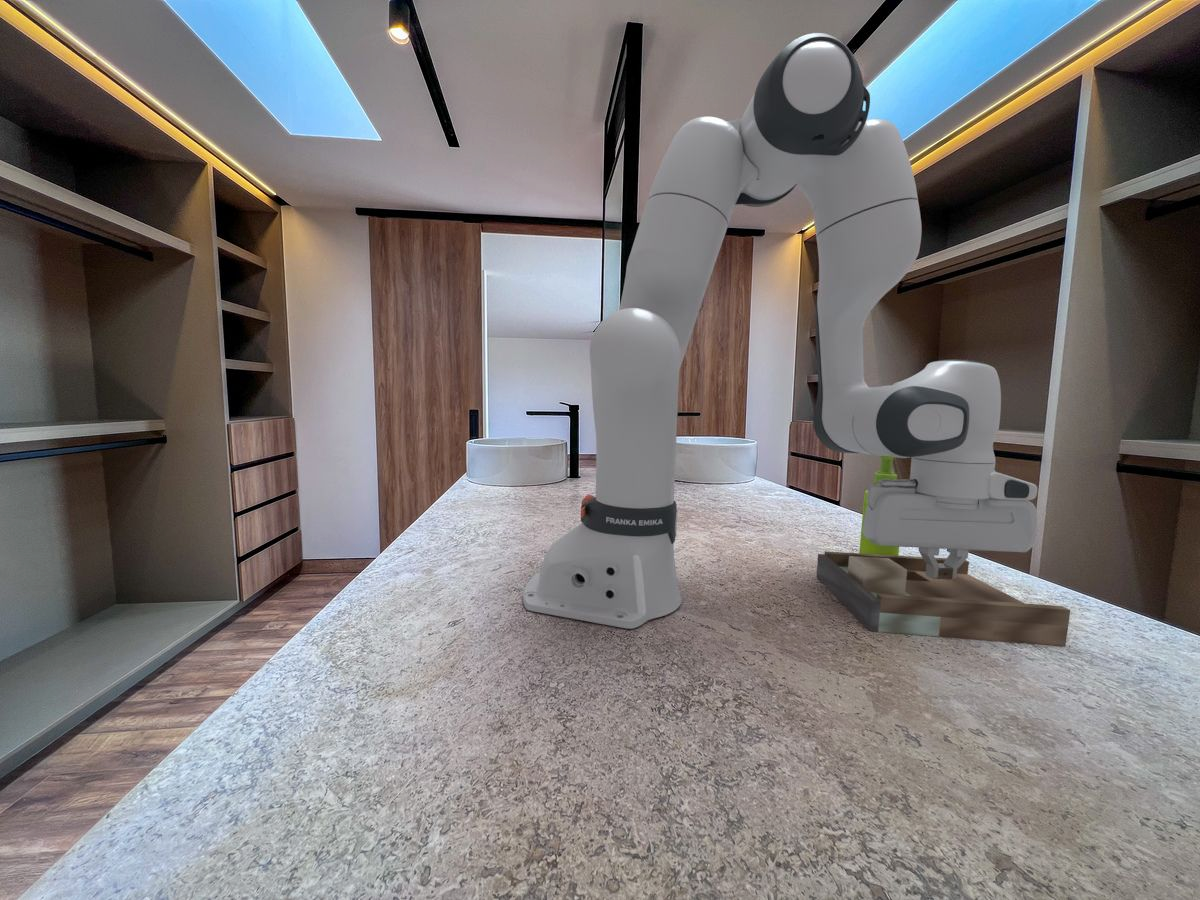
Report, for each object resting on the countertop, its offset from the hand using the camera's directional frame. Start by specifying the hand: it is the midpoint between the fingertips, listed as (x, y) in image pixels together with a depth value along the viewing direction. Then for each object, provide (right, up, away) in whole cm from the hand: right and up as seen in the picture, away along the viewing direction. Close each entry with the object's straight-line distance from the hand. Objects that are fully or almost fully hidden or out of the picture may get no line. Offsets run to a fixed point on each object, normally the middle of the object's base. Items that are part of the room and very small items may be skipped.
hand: (940, 577), depth 59 cm
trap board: (-2, -4, +1) cm, 5 cm away
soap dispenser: (+3, -3, +18) cm, 18 cm away
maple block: (-8, -2, +1) cm, 9 cm away
